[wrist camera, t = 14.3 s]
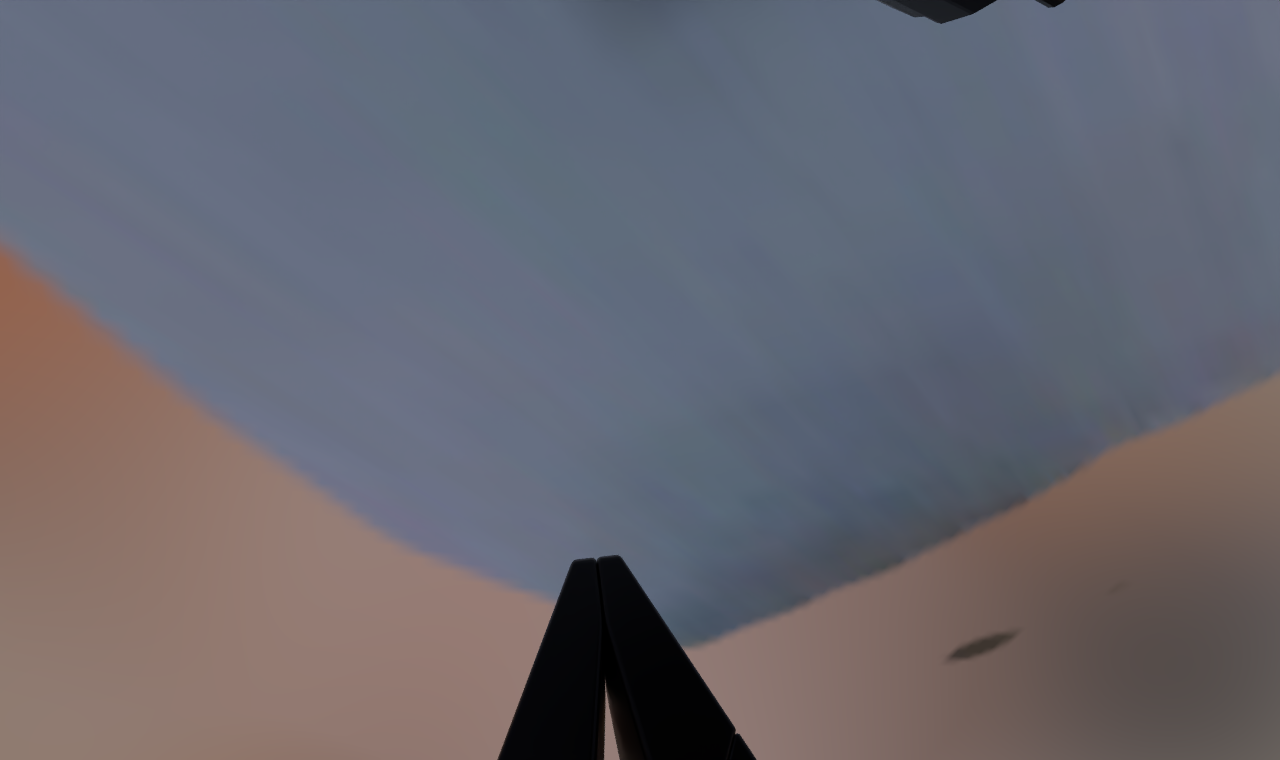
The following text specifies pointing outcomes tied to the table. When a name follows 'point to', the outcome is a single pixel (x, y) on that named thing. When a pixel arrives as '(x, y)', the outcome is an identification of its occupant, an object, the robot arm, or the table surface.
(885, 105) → the table surface
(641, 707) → the robot arm
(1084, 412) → the table surface
